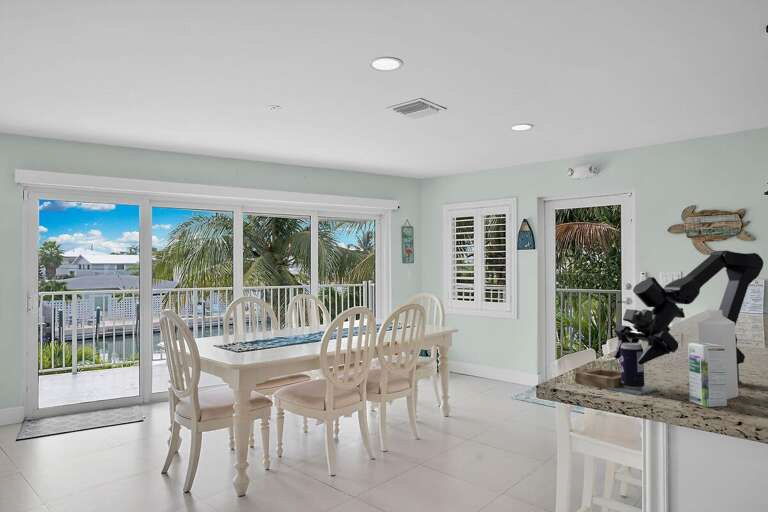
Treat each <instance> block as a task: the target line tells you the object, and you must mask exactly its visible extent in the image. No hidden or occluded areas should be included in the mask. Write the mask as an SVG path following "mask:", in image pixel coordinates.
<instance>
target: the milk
mask: <svg viewBox="0 0 768 512" xmlns="http://www.w3.org/2000/svg"><path fill="white" fill-rule="evenodd" d="M708 313H709V316H708V317H706V318H705V319H702V320H700V321H698V324H697V325H698V343H709V344H715V345H720V346H725V363H726V392H727V400H729V399H734V398H737V397H739V384H738V381H737V359H736V347H737V345H736V337H737V336H736V337H735V334H736V325H735V323H734V322H733V321H731V320H729V319H727V318H726V317H724V316H723V315H722V310H719V309H717V310H710V311H709V312H708Z"/></svg>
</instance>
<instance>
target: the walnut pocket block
mask: <svg viewBox="0 0 768 512" xmlns="http://www.w3.org/2000/svg"><path fill="white" fill-rule="evenodd" d="M574 376H575V377H574V380H575V381H574V382H575V384H579V385H584V386H590V387H595V388H601V389H605V390H608V387H611V388H616V387H620V386H623V385H622V384H621V370H620V371H619V370H614V369H609V368H601V367H597V368H592V369H588V370H587V369H586V370H582V371H577V372H575V373H574Z"/></svg>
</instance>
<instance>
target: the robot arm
mask: <svg viewBox="0 0 768 512" xmlns="http://www.w3.org/2000/svg"><path fill="white" fill-rule="evenodd" d="M763 267H764V260H763V258H762V257H761V256H760V254H758V253H756V252H750V253H749V252H748V253H745V252H744V253H743V252H736V251H735V252H734V251H731V250H715V251H712V252H711V253H710V255H709V256H708V257H707V258H706V259H704V260H703V261H702V262H701V263H700V264H698V265H697V266H696V267H695V268H694V269H693V270H692V271H690V272H689V273H687V275H685V276H683V277H681V278H677V279H675V280H673V281H671V282H669V283H668V284H666V285H665V286H664V287H662V285H661V284H659V282H658V280H657V279H656V278H655V277H654V276H648V277H647V278H646V279H644V280H642V281H640V282H638V283H637V284H635V285H634V287H633V289H632V292H633V293H634V294H635V295H636V297H637V298H638V300H640V301H641V302H642V304H644V305H645V306H646V307H647V308H652V309H651V310H649V309H647V308H646V309H645V308H644V309H642V310H637V309H629V308H626V310H625V313H624V315H623V318H622V320H623V321H624V322H627V323H630V324H632V327H631V326H629V325H622V324H619V325H616V327H615V328H614V329H613V332H614V333H615V336H616V337H617V339H618V341H617V346H616V348H615V353H614V356H613V357H614V359H616V360H618V359H619V360H620V359H621V358H620V347H621V345H622V343H640V341H644V342H646V343H647V345H646V347H645V349H643V353H642V355H641V356H640V358H639V360H638V363H639V364H640V365H641V364H644V365H645V364H647V363H648V362H650V361H653V360H655V359H658V358H661V357H662V356H664V355H670V354H671V353H674V354H675V353H676V351H677V350H678V349H679V342H678V340H676V339H675V337H674V336H673V335H672V334H671V333H670V331H671V328H670V327H669V326H670V325H671V323H672V322H673V321H674V320H675V318H679V319H681V318H682V319H684V318H685V312H684V308H683V307H679V306H678V305H691V304H692V303H693V302H694V301H695V300H696V299H697V297H698V296H699V295H700V292H701V291H700V290H701V288H702V287H703V286H704V285H705V284H706V283H708V282H709V281H710V280H711V279H712V278H713V277H714V276H716V275H717V274H718V273H719V272H721V271H722V270H723V269H725V272H726V275H727V277H728V278H727V279H728V281H727V284H726V286H725V287H726V288H725V291H724V292H723V293H724V294H723V297H722V299H721V302H720V305H719V309H718V310H722V315H723V316H724V317H726V318H727V319H729V320H731V321H733V322H734V323H735V326H736V325H737V322H738V319H739V315H740V313H741V309H742V306H743V303H744V301H745V297H746V294H747V291H748V288H749V285H750V284H751V283H752V282H754V281H755V280H756V279H757V278H758V277H759V275H760V274H761V272H762V270H763ZM677 304H678V305H677ZM633 328H634V330H636V331H634V330H633ZM735 337H736V359H737V381H738V385H739V384H742V383H743V381H742V380H740V367H739V366H740V364H744V362H745V358H746V356H745V354H744V352H742V351H741V350H740V348H738V346H737V344H738V337H737V334H736V333H735Z"/></svg>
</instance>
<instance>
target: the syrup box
mask: <svg viewBox="0 0 768 512" xmlns="http://www.w3.org/2000/svg"><path fill="white" fill-rule="evenodd" d="M687 345H688V346H687V347H688V349H687V350H688V351H687V352H688V353H687V354H688V380H689V381H688V383H689V386H688V387H689V402H690V403H694V404H697V405H700V406H702V407H704V408H711V407H715V408H716V407H717V408H718V407H727V406H728V402H727V401H728V399H727V392H726V363H725V346H720V345H715V344H709V343H699V342H689V343H688V344H687Z"/></svg>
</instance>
